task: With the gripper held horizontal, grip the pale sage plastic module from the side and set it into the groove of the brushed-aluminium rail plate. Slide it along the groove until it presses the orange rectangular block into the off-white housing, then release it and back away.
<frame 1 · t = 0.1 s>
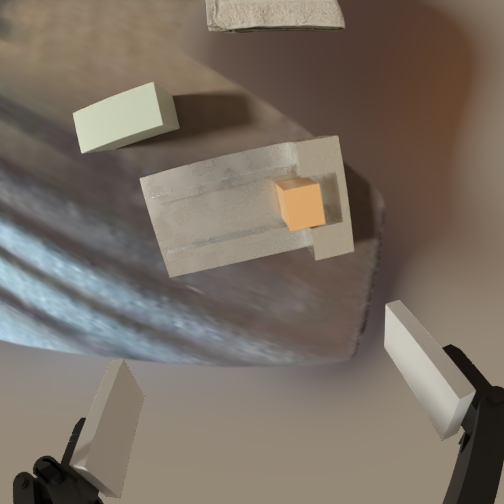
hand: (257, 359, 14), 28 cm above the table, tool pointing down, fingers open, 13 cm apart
rail plate: (243, 206, 40), on the table
orange rectangular block: (299, 202, 36), point 4 cm above the table, slide at 0.0 cm
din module: (142, 122, 35), on the table
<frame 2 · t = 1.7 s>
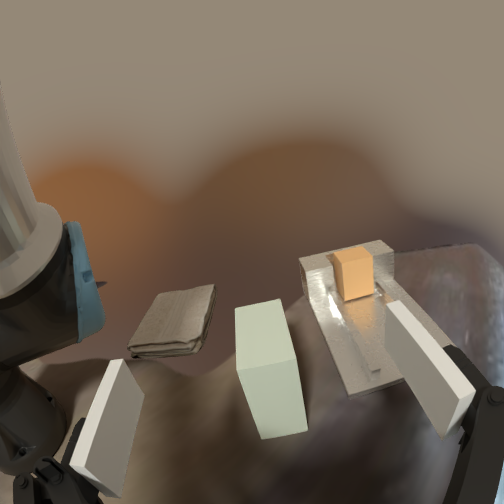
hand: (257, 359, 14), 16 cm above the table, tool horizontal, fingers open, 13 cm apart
washcloth: (178, 326, 49), on the table
rail plate: (371, 320, 39), on the table
orange rectangular block: (353, 272, 43), point 4 cm above the table, slide at 0.0 cm
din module: (279, 402, 30), on the table
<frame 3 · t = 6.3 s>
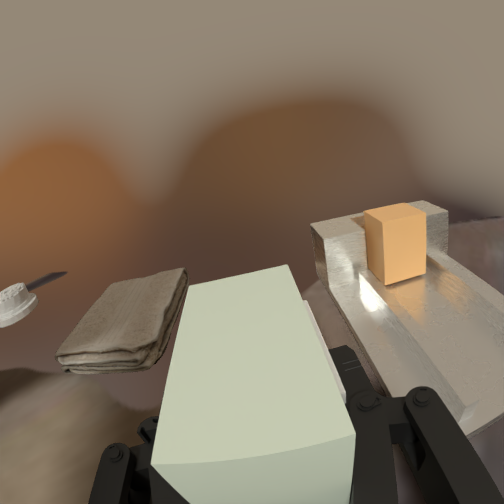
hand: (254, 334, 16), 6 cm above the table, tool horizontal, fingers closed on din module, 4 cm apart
washcloth: (132, 327, 32), on the table
rail plate: (429, 313, 22), on the table
orange rectangular block: (395, 242, 27), point 4 cm above the table, slide at 0.0 cm
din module: (284, 473, 13), on the table, touching gripper
mechanical component: (18, 314, 41), on the table
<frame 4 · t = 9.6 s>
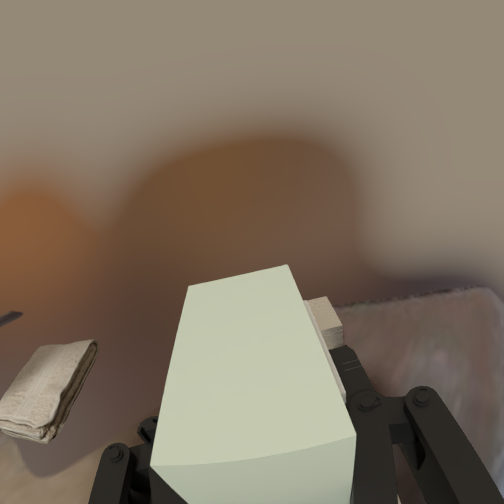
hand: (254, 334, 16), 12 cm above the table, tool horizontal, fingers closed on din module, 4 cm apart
washcloth: (49, 394, 30), on the table
rail plate: (281, 450, 20), on the table
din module: (284, 474, 13), point 6 cm above the table, touching gripper
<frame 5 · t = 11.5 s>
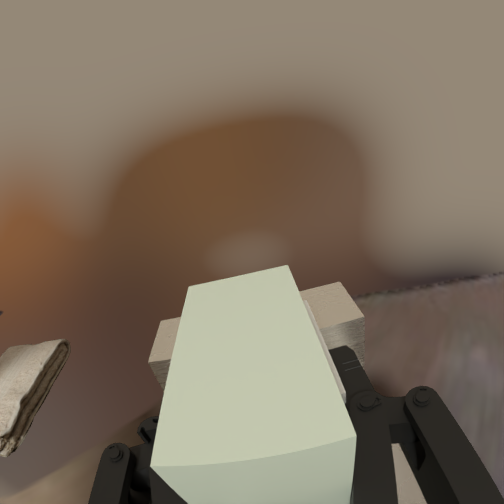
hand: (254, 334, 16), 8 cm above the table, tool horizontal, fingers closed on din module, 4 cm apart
washcloth: (15, 400, 23), on the table
rail plate: (284, 485, 14), on the table
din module: (284, 474, 13), point 2 cm above the table, touching gripper
when the fingers open (7 cm above the table, at t = 13.0 s): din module stays where it is, resting on rail plate.
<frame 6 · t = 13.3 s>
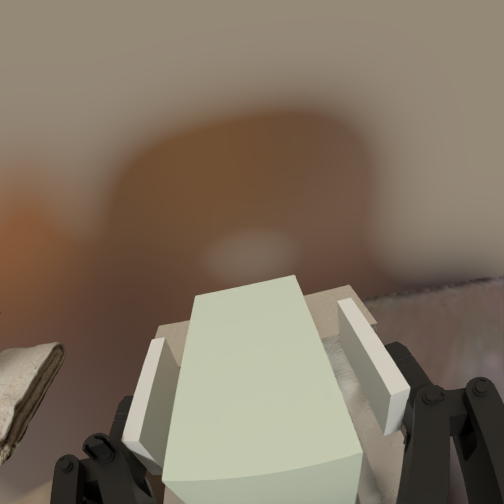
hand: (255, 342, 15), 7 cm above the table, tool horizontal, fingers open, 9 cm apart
washcloth: (10, 405, 22), on the table
rail plate: (290, 502, 12), on the table
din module: (289, 479, 13), point 1 cm above the table, touching rail plate
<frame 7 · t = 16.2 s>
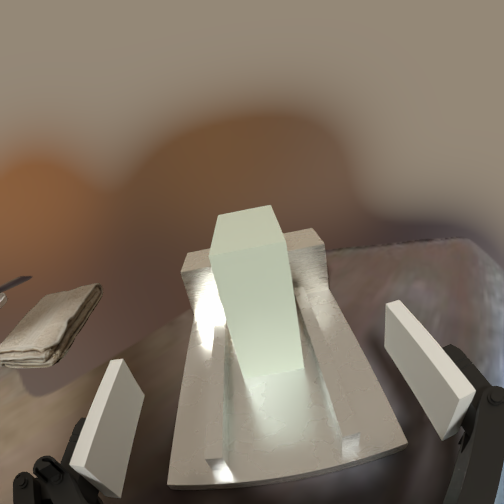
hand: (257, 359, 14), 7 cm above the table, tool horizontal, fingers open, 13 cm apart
washcloth: (54, 332, 35), on the table
rail plate: (269, 353, 25), on the table
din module: (268, 337, 26), point 1 cm above the table, touching rail plate
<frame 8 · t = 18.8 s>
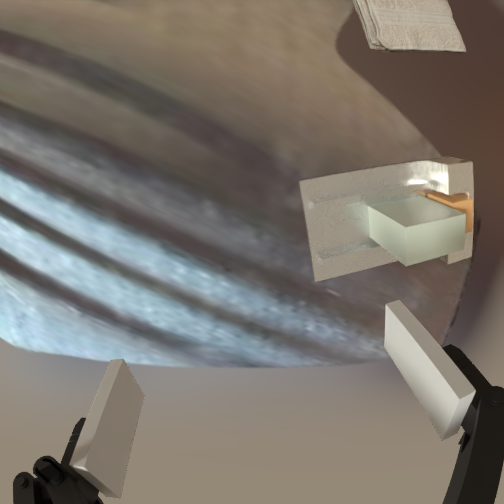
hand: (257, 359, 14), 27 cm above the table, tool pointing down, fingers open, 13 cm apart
washcloth: (406, 18, 30), on the table
rail plate: (387, 214, 40), on the table
orange rectangular block: (450, 211, 36), point 4 cm above the table, slide at 2.1 cm
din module: (397, 216, 39), point 1 cm above the table, touching rail plate
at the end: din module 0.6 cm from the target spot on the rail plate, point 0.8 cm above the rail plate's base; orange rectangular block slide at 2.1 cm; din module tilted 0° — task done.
